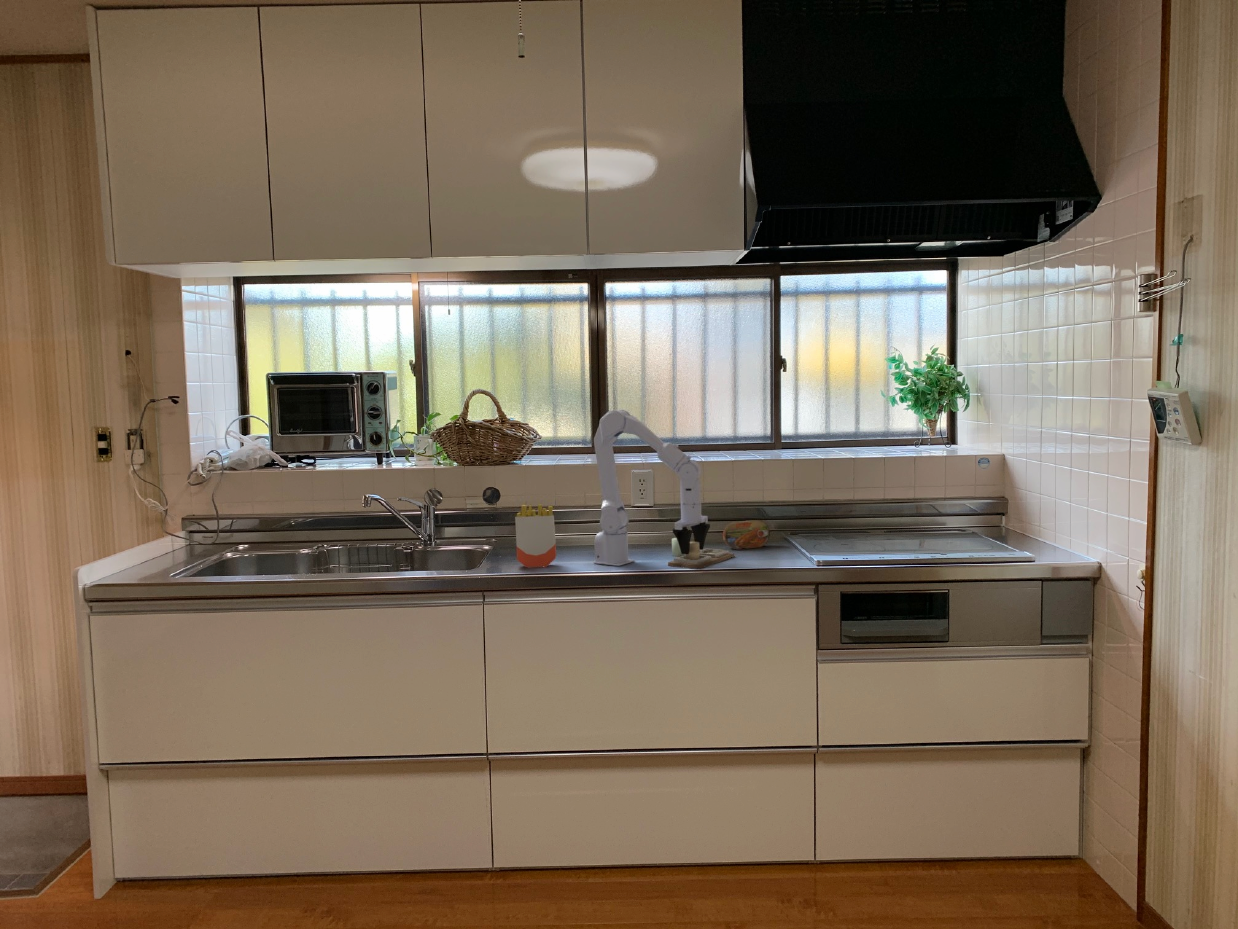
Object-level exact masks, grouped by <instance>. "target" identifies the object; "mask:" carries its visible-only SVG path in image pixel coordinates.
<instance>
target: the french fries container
mask: <svg viewBox="0 0 1238 929" xmlns="http://www.w3.org/2000/svg"><path fill="white" fill-rule="evenodd" d="M527 506H528V505H527V504H526V505H525V504H523V505H521V512H518V513H516V516H515V517H514V518H515V519H514V520H515V540H516V541H515V542H516V560H517V562H519V563H521V565H523V566H524V567H525V568H526V567H543V566H545V567H544V568H547V567H548V566H549V565H550V564H551V563H553V562H554V560H555V559H556V558H557V547H556V546H557V545H556V544H557V543H556V540H557V539H556V526H555V514H553V510H554V508H553V505H551V506H550V505H548V506H547V507H548V510H547V508H546V507H545V508H544V507H543V504H538V505H537V514H536V509H533V508H532V505H531V504H530V505H529V506H528V507H527ZM527 509H528V510H527Z"/></svg>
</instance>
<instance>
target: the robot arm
mask: <svg viewBox="0 0 1238 929" xmlns="http://www.w3.org/2000/svg"><path fill="white" fill-rule="evenodd" d="M622 434H627V435H628V434H629V435H635V436H636V437H637V438H639V439H640V440H642V442H644V443H645V444H646V445H648V446H649V447H651V449H653V450H655V451H656V453H657V459H658V460H660V461H661V462H662V463H663V464H665V465H666V466H667V467H668V468H670V469H671V471H673V472H674V473H677V478H679V480H680V482H679V483H680V490H679V491H680V494H679V495H680V497H679V498H680V519H679V520H677V521H676V522H674V528H672V533H673V535H674V536H675V538H677V541H678V543H679V547H680V550H681V553H682V554H689V551H690V542H691V539H692V535H693V540H694V541H693V542H699V550H703V549H704V547H705V541H706V538H707V536H708V535H707V534H708V532H709V530H710V528H711V523H708V522H709V521H708V519H709V518H708V517H709V516H708V515H702V495H701V492H702V490H701V489H702V488H701V478H700V476H702V466H701V465H700V463H699V462H698V460H696V459H692V456H691V455H687V454H686V453H684V452H683V451H682V450H681V449H680V448H679V444H677V443H672V442H665V441H663V440H662V439H661V438H660V437H659V436H658V435H656V433H654V432H653V431H652V430H651V429H650V428H648V426H647V425H645V424H644V423H643V422H642V421H641V420H639V419H638V417H636V416H634V415H633V414H631V413H630V412H628V411H627V410H625V409H618V410H609V411H607V412H606V413H605V414H603V416H602V417H601V418H600V419H599V424H598V427H597V430H596V433H595V435H594V437H593V446H594V451H595V456H596V457H595V458H596V464H597V471H598V478H599V485H600V490H601V497H602V504H601V507H600V511H601V514H600V518H599V526H600V528H601V529H602V531H598V533H597V534H596V535H595V538H594V541H593V542H594V543H593V544H594V545H593V546H594V561H593V564H597V565H605V566H607V565H608V566H615V567H616V566H617V567H619V566H624V565H627V564H630V563H633V562H635V561H636V560H635V559H631V558H629V538H628V534H629V533H628V529H627V525H628V524H629V521H630V515H629V513H628V511H627V510H626V508H625V504H624V501H623V500H622V498H621V493H620V486H619V485H620V484H619V479H618V474H617V473H618V472H617V466H616V459H615V454H614V447H613V444H614V443H615V441H616V440H617V438H619V437H620V436H621V435H622ZM689 527H690V528H691V529H689Z"/></svg>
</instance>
